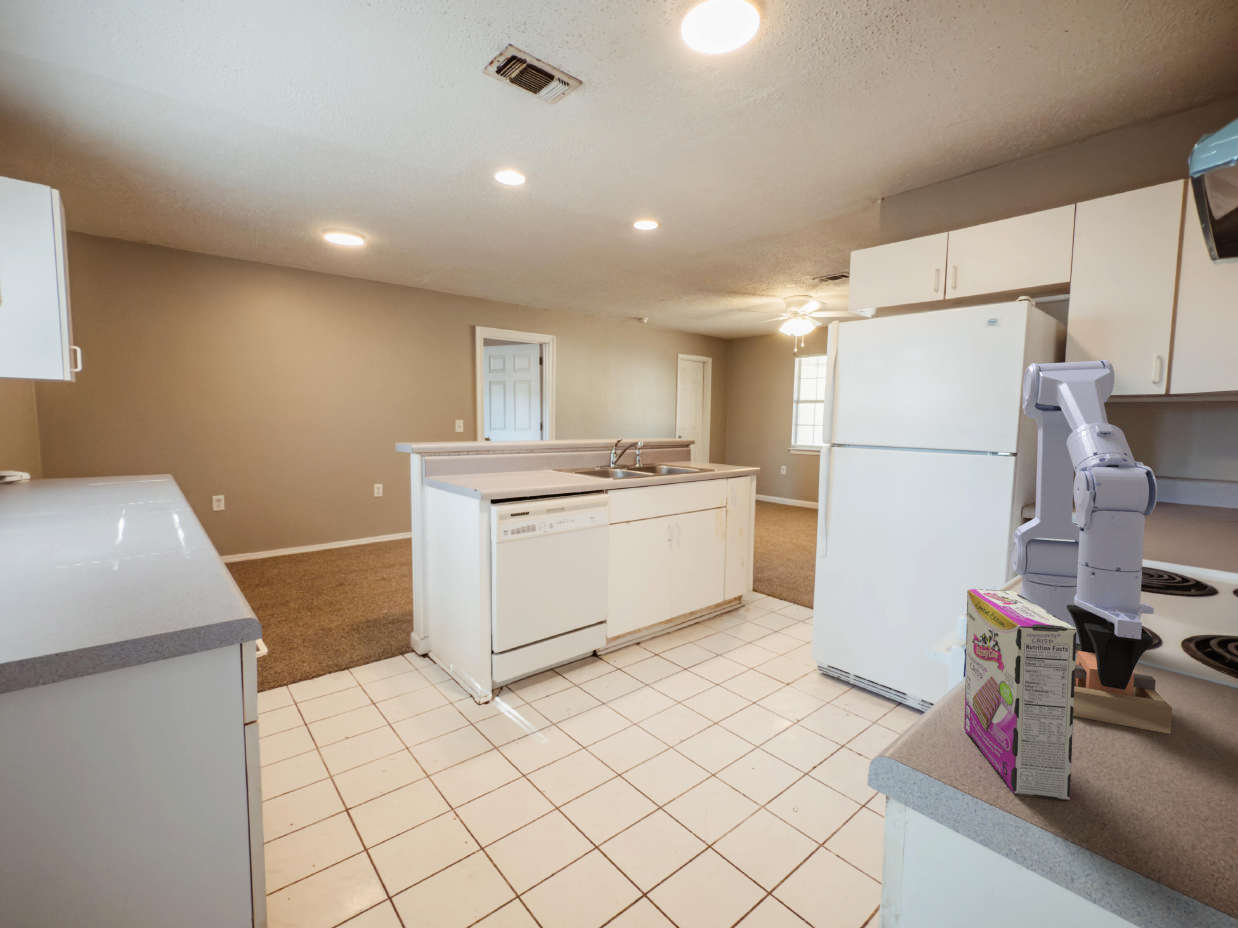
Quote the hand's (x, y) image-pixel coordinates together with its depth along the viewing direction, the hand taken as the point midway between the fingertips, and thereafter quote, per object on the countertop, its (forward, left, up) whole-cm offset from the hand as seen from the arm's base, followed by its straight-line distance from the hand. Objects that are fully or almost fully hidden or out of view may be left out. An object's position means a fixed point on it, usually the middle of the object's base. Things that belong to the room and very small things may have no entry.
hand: (1103, 675), depth 65 cm
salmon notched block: (0, 0, -3) cm, 3 cm away
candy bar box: (+19, -12, -4) cm, 23 cm away
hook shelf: (0, 0, -4) cm, 4 cm away
